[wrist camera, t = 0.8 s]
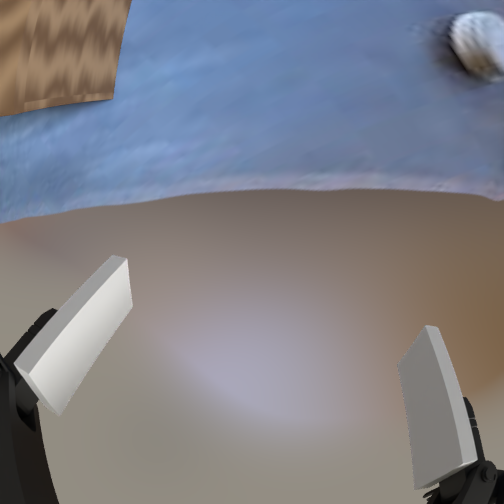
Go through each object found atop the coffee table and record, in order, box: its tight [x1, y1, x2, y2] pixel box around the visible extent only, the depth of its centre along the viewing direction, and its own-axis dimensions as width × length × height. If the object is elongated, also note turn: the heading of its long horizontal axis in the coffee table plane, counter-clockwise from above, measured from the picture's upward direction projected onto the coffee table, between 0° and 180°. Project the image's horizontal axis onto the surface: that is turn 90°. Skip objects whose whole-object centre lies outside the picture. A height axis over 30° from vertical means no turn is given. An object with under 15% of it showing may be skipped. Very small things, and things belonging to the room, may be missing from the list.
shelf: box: [0, 0, 132, 116], centre depth 21 cm, size 17×16×18 cm
